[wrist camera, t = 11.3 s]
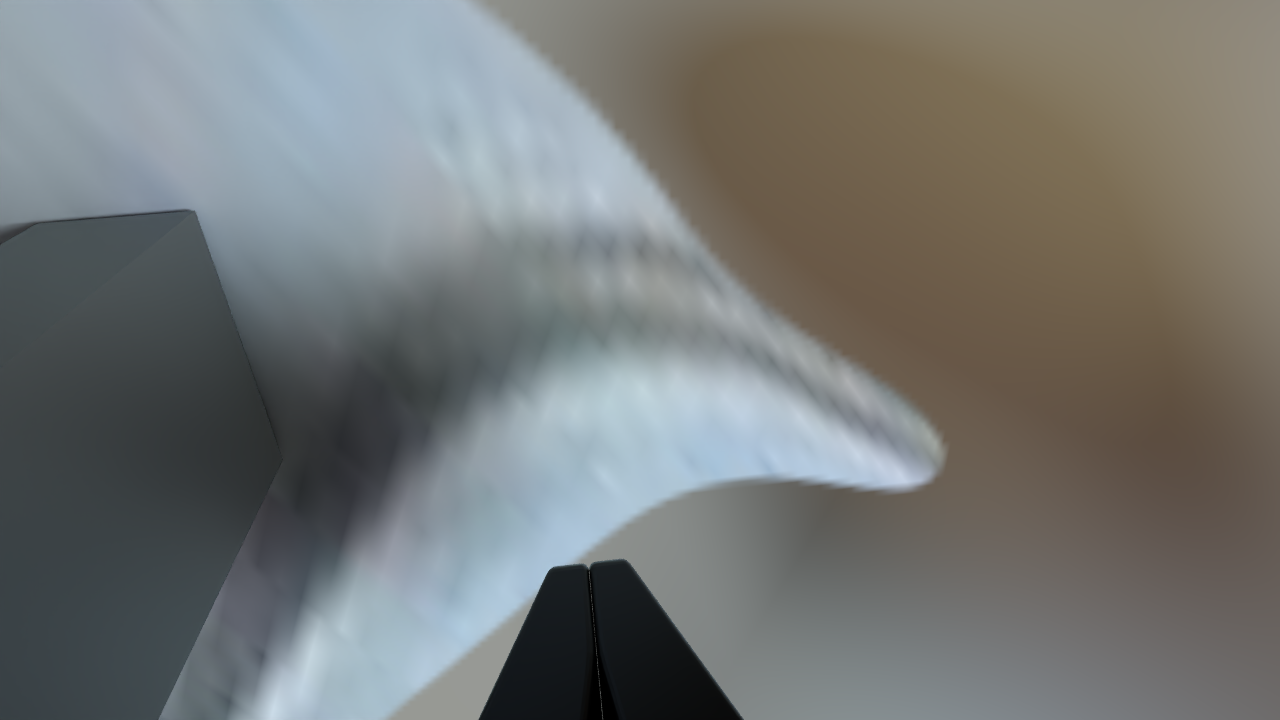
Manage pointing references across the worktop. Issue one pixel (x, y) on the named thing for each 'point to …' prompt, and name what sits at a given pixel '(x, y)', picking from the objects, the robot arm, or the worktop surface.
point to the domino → (117, 461)
